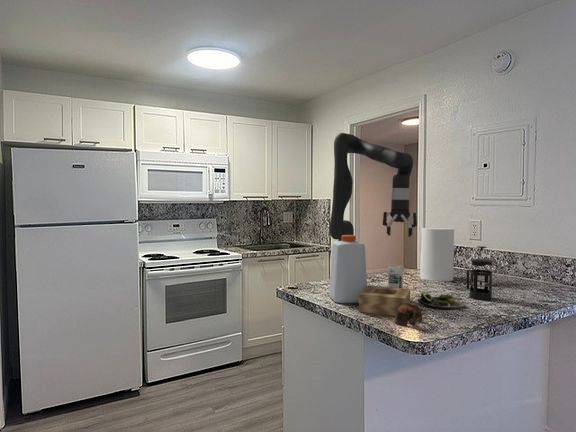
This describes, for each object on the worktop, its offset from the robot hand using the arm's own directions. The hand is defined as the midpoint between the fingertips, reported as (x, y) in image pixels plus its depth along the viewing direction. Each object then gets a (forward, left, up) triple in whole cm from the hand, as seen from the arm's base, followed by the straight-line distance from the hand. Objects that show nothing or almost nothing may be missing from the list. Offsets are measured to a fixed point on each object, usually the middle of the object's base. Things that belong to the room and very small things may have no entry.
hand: (399, 236), depth 175 cm
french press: (+33, +18, -28) cm, 47 cm away
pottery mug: (+8, -35, -28) cm, 45 cm away
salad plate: (+17, -1, -28) cm, 33 cm away
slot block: (-3, -18, -28) cm, 33 cm away
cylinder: (+13, +58, -28) cm, 65 cm away
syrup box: (-1, -1, -28) cm, 28 cm away
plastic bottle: (-20, -9, -28) cm, 36 cm away
